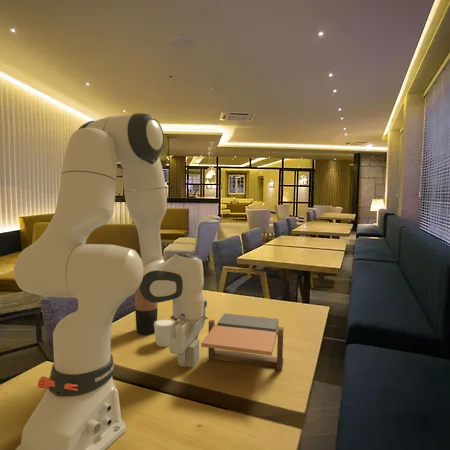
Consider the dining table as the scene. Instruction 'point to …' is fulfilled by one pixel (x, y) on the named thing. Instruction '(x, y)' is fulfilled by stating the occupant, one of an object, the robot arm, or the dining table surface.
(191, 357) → the grey block
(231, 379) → the dining table surface
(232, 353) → the frame
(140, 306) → the travel mug
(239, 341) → the trapdoor
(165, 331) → the shot glass
